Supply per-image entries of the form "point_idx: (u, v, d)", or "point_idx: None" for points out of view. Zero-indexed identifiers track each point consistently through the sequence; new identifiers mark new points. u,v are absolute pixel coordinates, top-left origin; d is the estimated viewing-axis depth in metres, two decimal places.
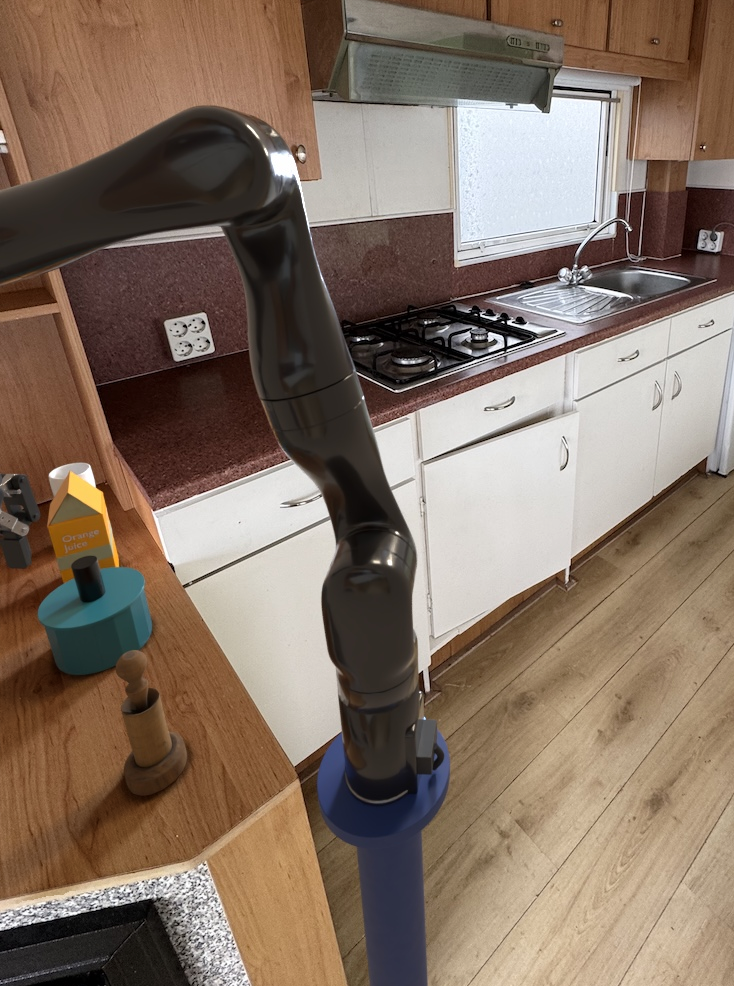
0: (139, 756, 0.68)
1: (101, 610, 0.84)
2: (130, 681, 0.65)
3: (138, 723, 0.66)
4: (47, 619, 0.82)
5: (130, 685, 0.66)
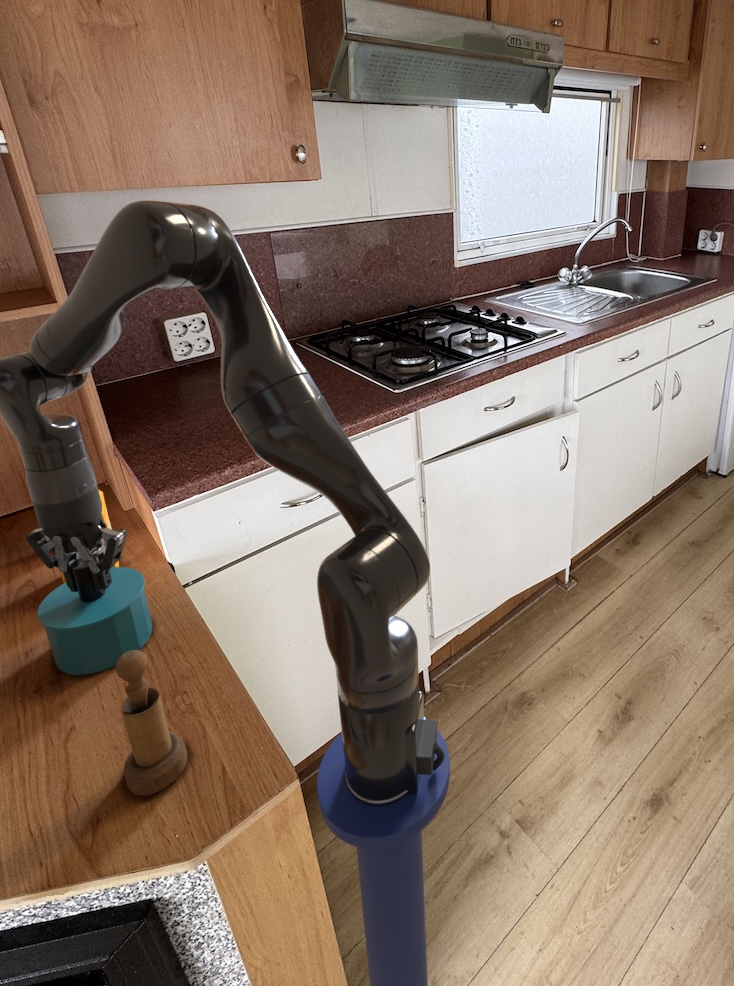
0: (139, 756, 0.68)
1: (101, 610, 0.84)
2: (131, 681, 0.65)
3: (138, 723, 0.66)
4: (47, 619, 0.82)
5: (130, 685, 0.66)
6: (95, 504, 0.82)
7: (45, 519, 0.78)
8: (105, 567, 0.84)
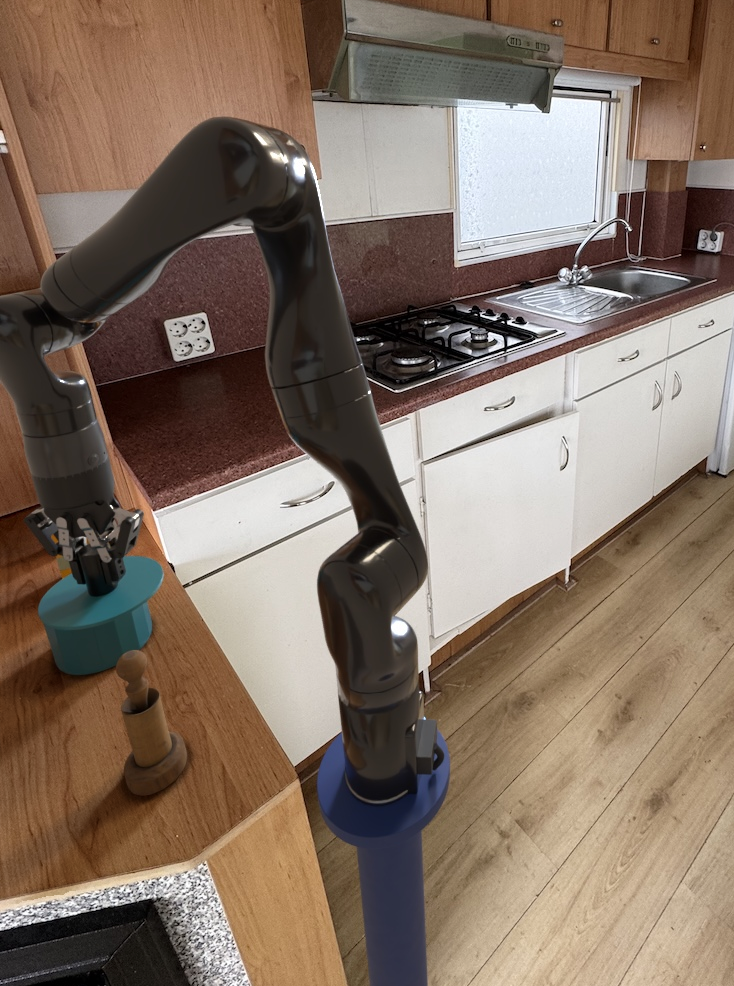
0: (139, 756, 0.68)
1: (113, 606, 0.71)
2: (131, 681, 0.65)
3: (138, 723, 0.66)
4: (49, 616, 0.69)
5: (130, 685, 0.66)
6: (106, 479, 0.69)
7: (47, 495, 0.65)
8: (118, 555, 0.71)
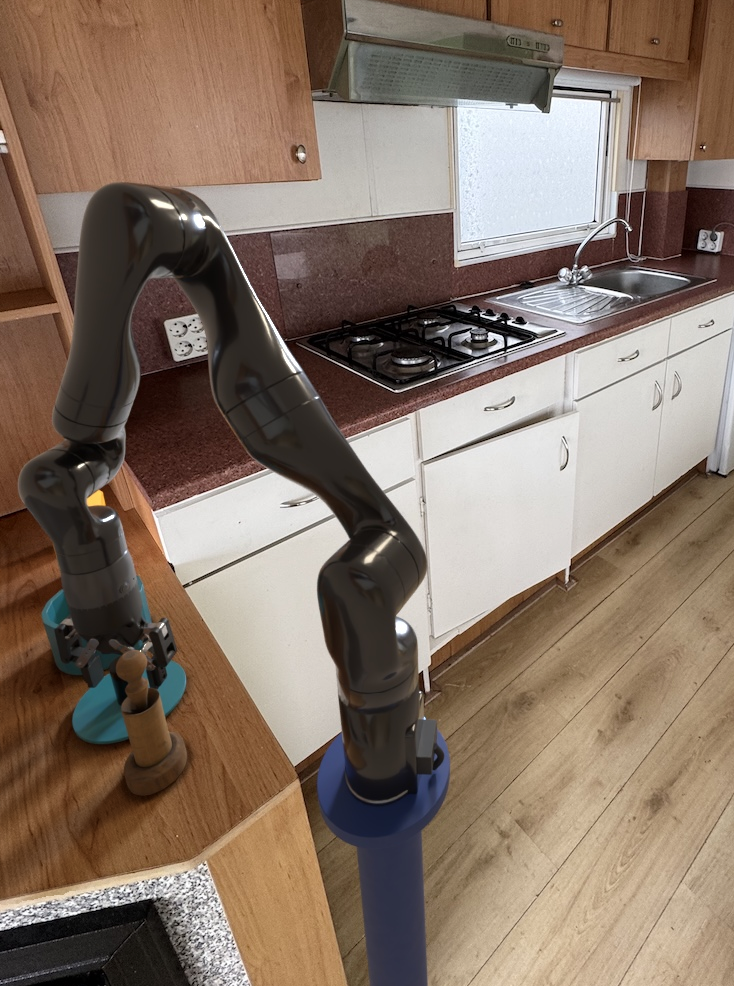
0: (139, 756, 0.68)
1: None
2: (131, 681, 0.65)
3: (138, 723, 0.66)
4: (83, 729, 0.75)
5: (130, 685, 0.66)
6: (135, 602, 0.74)
7: (83, 624, 0.71)
8: (162, 664, 0.76)
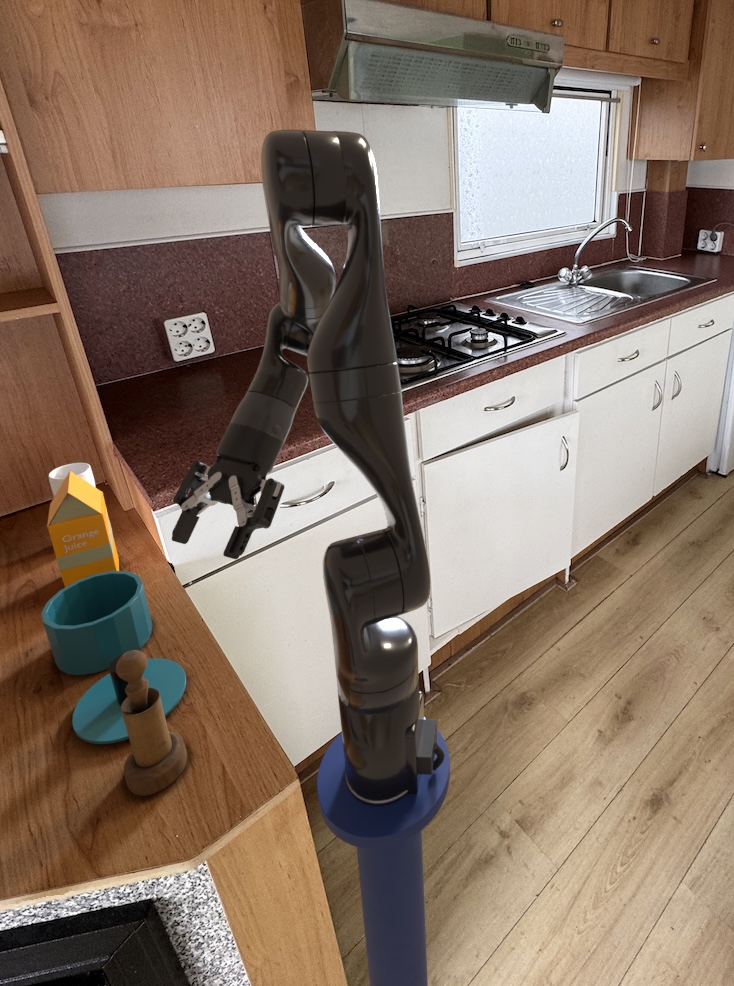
0: (139, 756, 0.68)
1: None
2: (131, 681, 0.65)
3: (138, 723, 0.66)
4: (83, 729, 0.75)
5: (130, 685, 0.66)
6: (272, 455, 0.77)
7: (229, 439, 0.75)
8: (255, 518, 0.72)
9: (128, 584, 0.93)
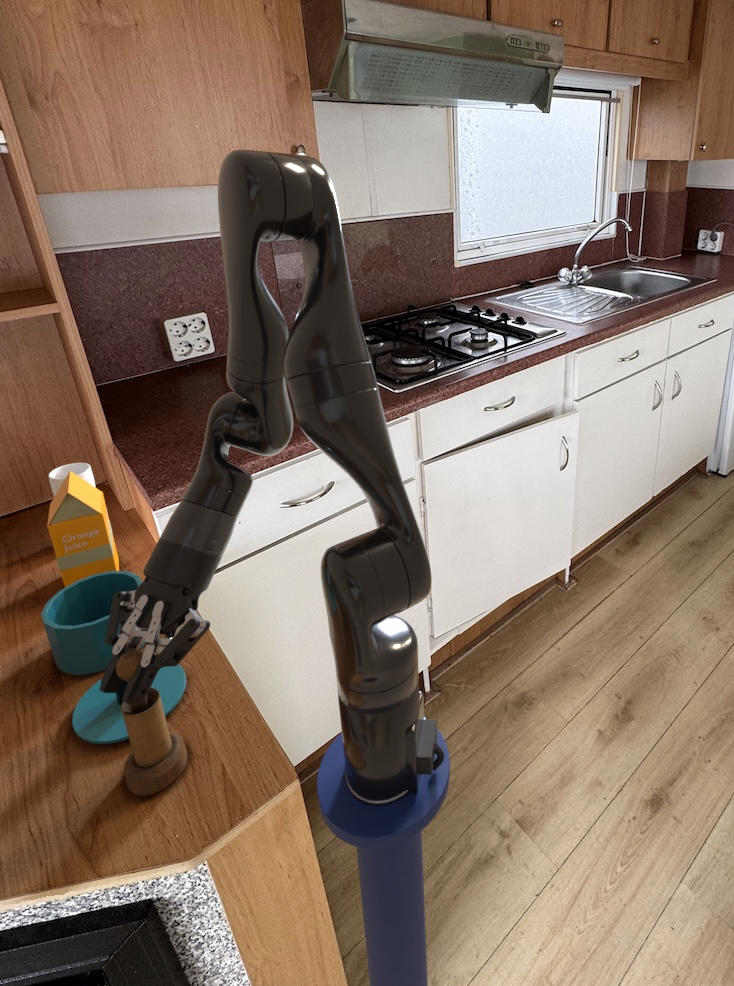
0: (139, 756, 0.68)
1: None
2: None
3: (138, 723, 0.66)
4: (83, 729, 0.75)
5: None
6: (206, 574, 0.69)
7: (157, 559, 0.67)
8: (159, 659, 0.64)
9: (128, 584, 0.93)
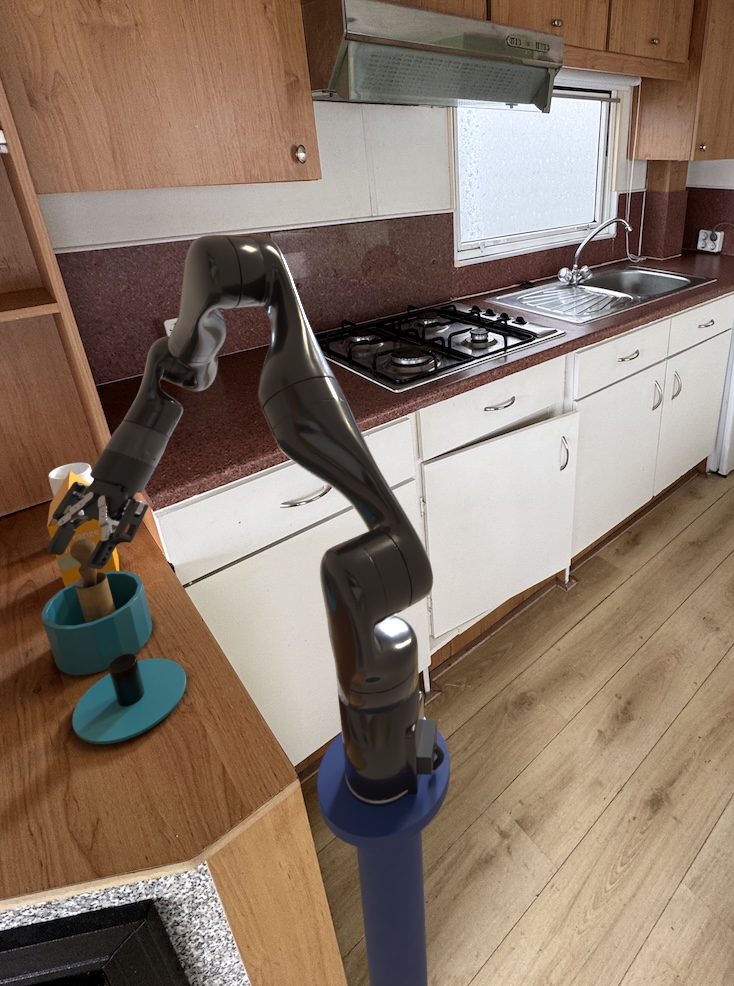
0: None
1: (141, 717, 0.77)
2: (82, 562, 0.84)
3: (88, 596, 0.85)
4: (83, 729, 0.75)
5: (82, 565, 0.85)
6: (140, 477, 0.88)
7: (100, 464, 0.86)
8: (115, 534, 0.82)
9: (128, 584, 0.93)
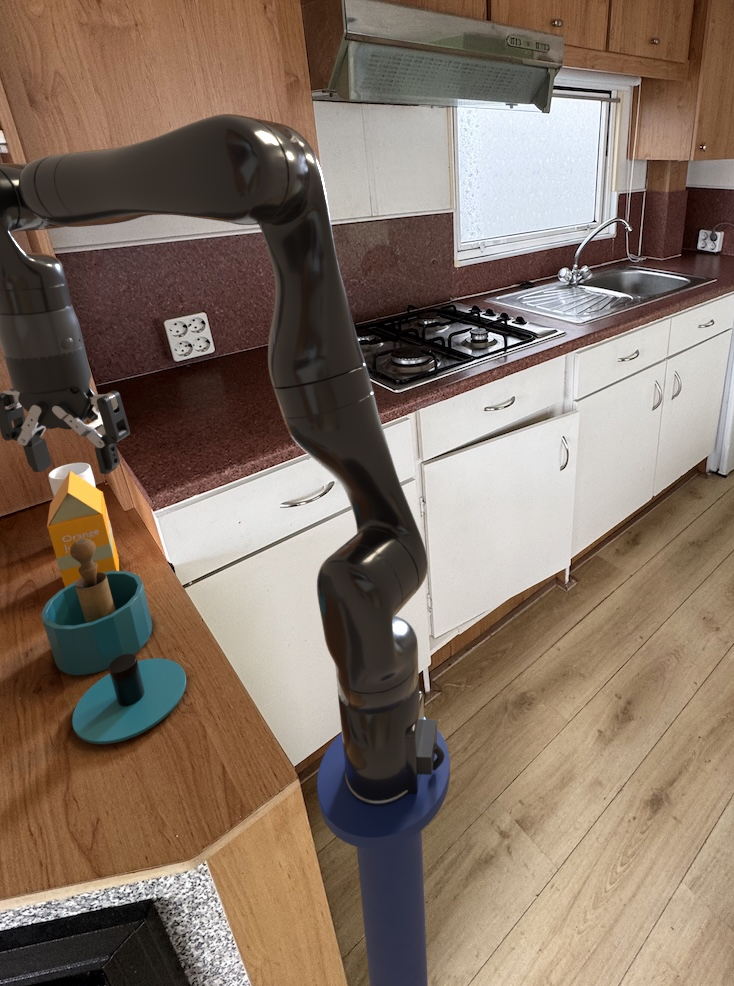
0: None
1: (141, 717, 0.77)
2: (82, 562, 0.84)
3: (88, 596, 0.85)
4: (83, 729, 0.75)
5: (82, 565, 0.85)
6: (82, 367, 0.68)
7: (20, 378, 0.64)
8: (111, 439, 0.69)
9: (128, 584, 0.93)
